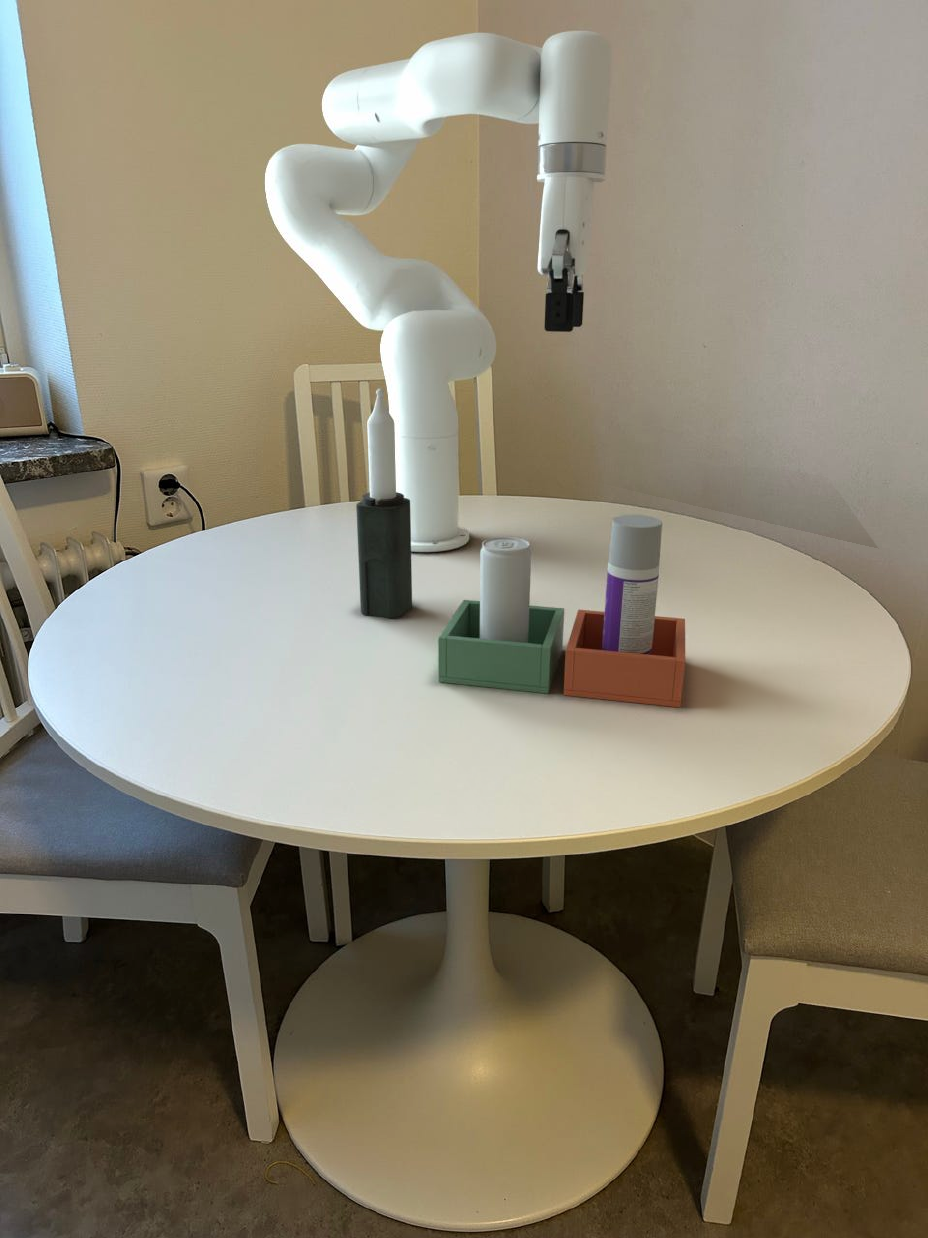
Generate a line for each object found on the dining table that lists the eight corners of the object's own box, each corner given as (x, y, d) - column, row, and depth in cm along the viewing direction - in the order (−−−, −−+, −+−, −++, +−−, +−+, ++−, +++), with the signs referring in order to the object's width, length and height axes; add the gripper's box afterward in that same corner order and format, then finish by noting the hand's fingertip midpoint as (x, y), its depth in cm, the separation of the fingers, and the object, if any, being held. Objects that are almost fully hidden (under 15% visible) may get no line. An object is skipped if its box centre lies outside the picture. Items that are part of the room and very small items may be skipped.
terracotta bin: (563, 695, 81) (565, 650, 79) (575, 650, 91) (578, 609, 89) (680, 707, 79) (685, 661, 77) (680, 660, 88) (685, 618, 87)
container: (595, 661, 87) (605, 514, 81) (642, 660, 87) (655, 513, 81) (606, 682, 82) (618, 528, 77) (655, 680, 83) (670, 527, 77)
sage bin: (438, 682, 84) (437, 637, 82) (463, 639, 93) (463, 599, 91) (548, 693, 81) (550, 648, 80) (562, 649, 91) (564, 608, 89)
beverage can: (528, 650, 89) (532, 537, 85) (526, 670, 85) (530, 551, 80) (481, 648, 90) (482, 535, 85) (477, 668, 85) (478, 550, 81)
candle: (415, 604, 103) (411, 386, 94) (398, 619, 98) (392, 392, 89) (375, 599, 104) (368, 384, 95) (357, 614, 100) (347, 390, 91)
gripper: (548, 174, 105) (542, 324, 112) (525, 157, 90) (520, 332, 96) (611, 173, 104) (602, 325, 110) (598, 155, 88) (588, 334, 94)
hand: (564, 328), depth 103 cm, fingers open, 9 cm apart
